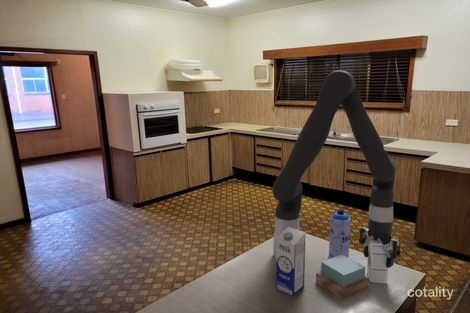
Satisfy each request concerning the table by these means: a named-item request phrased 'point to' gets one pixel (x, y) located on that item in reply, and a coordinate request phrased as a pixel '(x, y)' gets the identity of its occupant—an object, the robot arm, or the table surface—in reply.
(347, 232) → the aerosol can
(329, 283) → the walnut slab
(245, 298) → the table surface
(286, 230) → the milk carton
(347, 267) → the teal block
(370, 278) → the syrup box
